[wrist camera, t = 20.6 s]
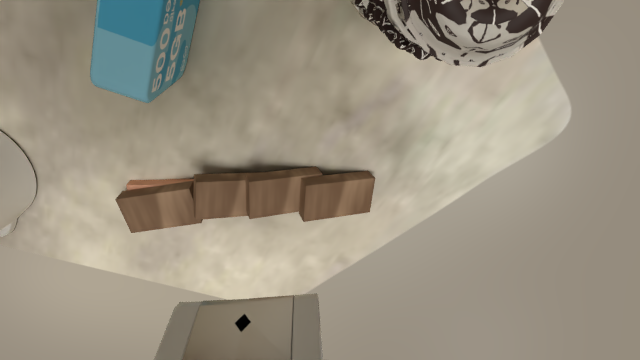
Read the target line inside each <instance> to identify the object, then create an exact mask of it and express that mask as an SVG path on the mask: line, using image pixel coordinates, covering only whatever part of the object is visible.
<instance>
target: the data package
mask: <svg viewBox="0 0 640 360" xmlns="http://www.w3.org/2000/svg"><path fill="white" fill-rule="evenodd" d="M199 2H200V0H97V8H96V18H95V29H94V39H93V49H92V59H91V69H90V77H91V81H92V83H93V84H94V85H95V86H97V87H99V88H103V89H106V90H109V91H112V92H115V93H118V94H121V95H124V96H127V97H130V98H133V99H136V100H139V101H142V102H145V103H149V102H151V101H152V100H154V99H155V98H156V97H157V96H159V95H160V94H161V93H162V92H163V91H165V90H166V89H167V88H168V87H170V86H171V85H172V84H173V83H175V82H176V81H177V80H178V79H180V78H181V76H182V75H183V72H184V70H185V67H186V63H187V59H188V54H189V49H190V44H191V40H192V35H193V30H194V25H195V21H196V16H197V11H198V6H199Z"/></svg>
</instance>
